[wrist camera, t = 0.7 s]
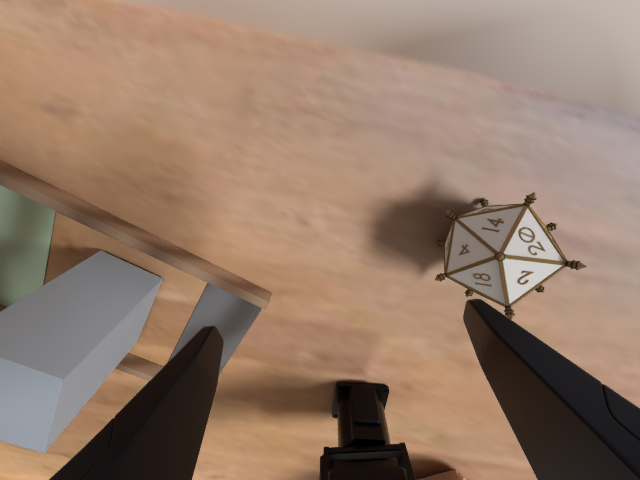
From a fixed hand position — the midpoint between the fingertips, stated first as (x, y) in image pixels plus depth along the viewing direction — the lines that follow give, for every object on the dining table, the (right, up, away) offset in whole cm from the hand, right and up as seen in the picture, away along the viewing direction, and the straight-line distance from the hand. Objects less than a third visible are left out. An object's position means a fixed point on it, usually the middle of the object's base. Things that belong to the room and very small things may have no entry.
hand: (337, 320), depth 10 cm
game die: (+13, +4, +14) cm, 19 cm away
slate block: (-21, -3, +18) cm, 28 cm away
